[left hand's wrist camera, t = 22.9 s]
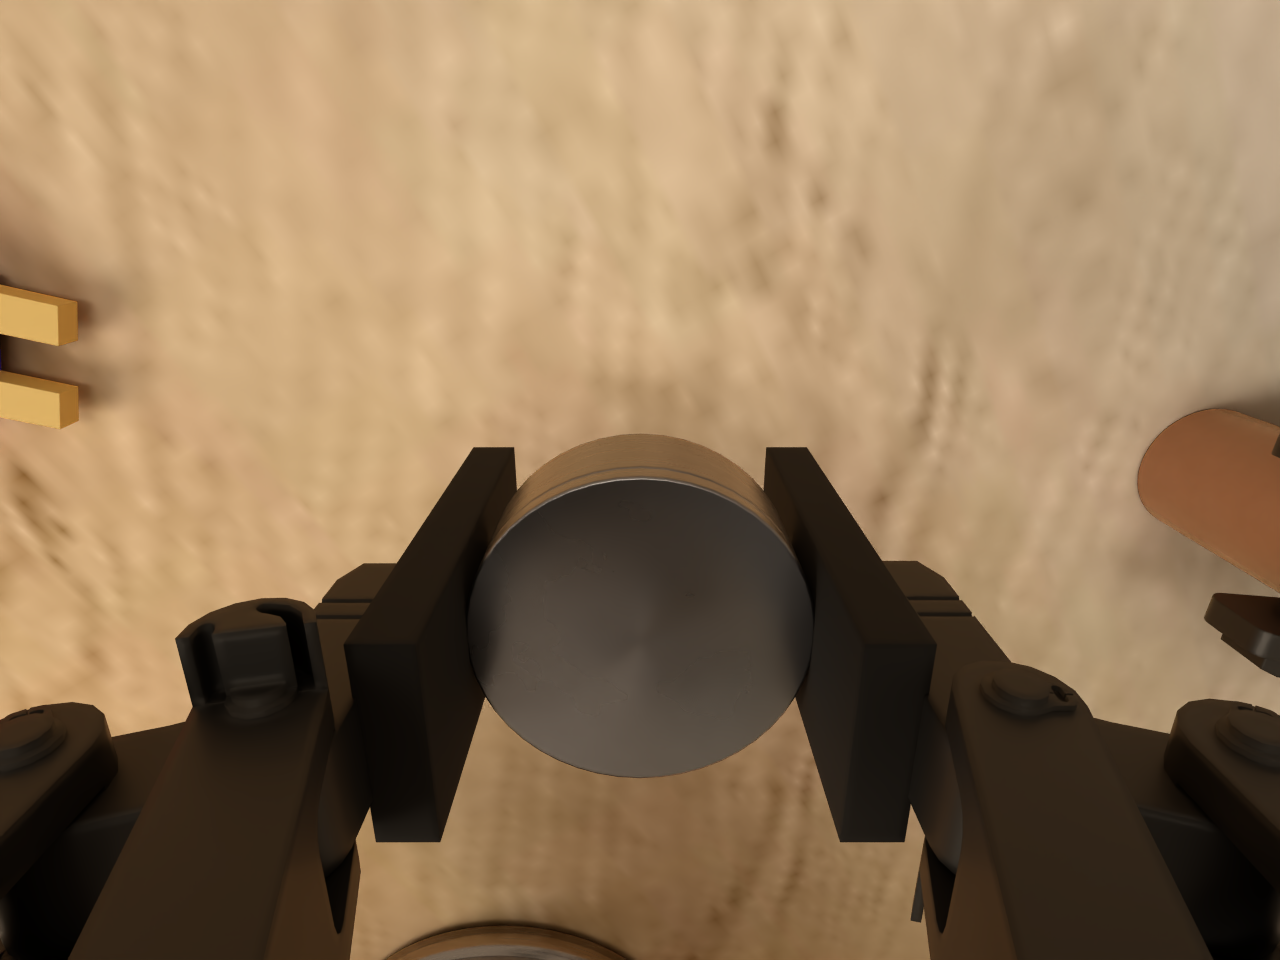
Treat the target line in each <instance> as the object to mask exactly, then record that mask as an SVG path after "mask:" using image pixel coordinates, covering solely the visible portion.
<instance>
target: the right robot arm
mask: <svg viewBox="0 0 1280 960" xmlns="http://www.w3.org/2000/svg"><path fill="white" fill-rule="evenodd" d="M1271 454H1272V455H1274V456H1276V457H1278V458H1280V433H1279V435H1278V438H1277V440H1276V443H1275V445H1274V448H1273V450H1272V453H1271ZM1204 619H1205V621H1206V622H1208V623H1209V624H1210V625H1212V626H1213V627H1214V628H1216V629H1217V630H1218V631H1220V632H1221V633H1222V637H1221V639H1222V640H1223V641H1224V642H1226V643H1227V644H1228V645H1230V646H1231V647H1232V648H1234V649H1235V650H1236V651H1238V652H1239V653H1240V654H1242V655H1243V656H1244V657H1246V658H1247V659H1248V660H1250V661H1251V662H1252V663H1254V664H1255V665H1256V666H1258V667H1259V668H1260V669H1262V670H1264V671H1266V672H1268V673H1270V674H1272V675H1274V676H1276V677H1280V598H1277V597H1265V596H1252V595H1239V594H1227V593H1215V594H1213V597H1212V599H1211V601H1210V604H1209V606H1208V609H1207V611H1206V614H1205V616H1204Z"/></svg>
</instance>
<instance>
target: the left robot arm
mask: <svg viewBox="0 0 1280 960" xmlns="http://www.w3.org/2000/svg"><path fill="white" fill-rule="evenodd" d="M516 491H517V485H516V469H515V454H514V447H474V448H473V449H472V451H471V452H470V454H469V455H468V457H467V458H466V460H465V461H464V463H463V464H462V466H461V467H460V469H459V470H458V472H457V473H456V475H455V476H454V478H453V479H452V481H451V482H450V484H449V485H448V487H447V488H446V490H445V491H444V493H443V494H442V496H441V498H440V499H439V501H438V502H437V504H436V505H435V507H434V508H433V510H432V511H431V513H430V514H429V516H428V517H427V519H426V520H425V522H424V523H423V525H422V526H421V528H420V529H419V531H418V532H417V534H416V535H415V537H414V538H413V540H412V541H411V543H410V544H409V546H408V547H407V549H406V550H405V552H404V553H403V555H402V556H401V558H400V559H399V561H398V562H397V563H364V564H362V565H361V566H359V567H357V568H356V569H354V570H352V571H351V572H349V573H348V574H346V575H344V576H343V577H341V578H340V579H338V580H337V581H336V582H335V583H334V585H333V586H332V587H331V588H330V590H329V591H328V592H327V594H326V595H325V596H324V597H323V599H322V603H319V604H318V605H317V606H316V607H315V609H313V608H311V607H310V606H309V605H307V604H306V603H305V602H302V601H297V600H293V599H288V598H261V599H256V600H251V601H246V602H240V603H235V604H232V605H230V606H227V607H224V608H221V609H219V610H216V611H213V612H210V613H208V614H207V615H205V616H203V617H201V618H200V619H198V620H196V621H194V622H193V623H191V624H189V625H188V626H187V627H186V628H185V629H184V630H183V631H182V632H181V633H180V634H179V635H178V636H177V637H176V638H175V640H176V644H177V648H178V652H179V656H180V659H181V663H182V667H183V671H184V675H185V679H186V683H187V686H188V690H189V694H190V698H191V702H192V706H193V707H192V709H191V712H190V714H189V716H188V718H187V720H186V722H182V723H178V724H174V725H170V726H165V727H160V728H155V729H150V730H145V731H140V732H135V733H130V734H125V735H120V736H115V737H111V734H110V731H109V728H108V725H107V721H106V718H105V715H104V714H103V713H102V712H101V711H100V710H98V709H97V708H96V707H95V706H93V705H88V704H82V703H75V702H69V703H60V704H51V705H42V706H37V707H32V708H30V709H29V710H26V709H25V710H22V711H19V712H15V713H12V714H10V715H8V716H6V717H5V718H3V719H1V720H0V960H350V952H351V944H352V937H353V929H354V921H355V913H356V905H357V897H358V889H359V881H360V873H361V870H360V863H359V856H358V850H357V844H356V837H357V835H358V832H359V830H360V828H361V826H362V823H363V821H364V819H365V817H366V814H367V812H368V810H369V808H370V809H371V815H372V821H373V827H374V833H375V839H376V842H440V841H441V838H442V835H443V832H444V828H445V825H446V822H447V819H448V816H449V812H450V809H451V806H452V803H453V799H454V796H455V793H456V790H457V786H458V783H459V780H460V777H461V773H462V770H463V767H464V764H465V760H466V757H467V754H468V751H469V748H470V744H471V741H472V738H473V735H474V731H475V728H476V725H477V722H478V718H479V715H480V712H481V709H482V705H483V702H484V699H485V695H484V694H483V692H482V689H481V687H480V685H479V683H478V681H477V679H476V677H475V674H474V671H473V668H472V665H471V662H470V659H469V649H468V639H467V628H466V611H467V604H468V597H469V594H470V591H471V587H472V584H473V581H474V578H475V575H476V573H477V571H478V569H479V566H480V564H481V562H482V559H483V557H484V555H485V552H486V550H487V548H488V546H489V543H490V541H491V539H492V536H493V534H494V532H495V529H496V527H497V525H498V523H499V521H500V518H501V516H502V514H503V512H504V510H505V508H506V506H507V505H508V503H509V502H510V500H511V499H512V497H513V496H514V494H515V493H516ZM764 492H765V493H766V495H767V496H768V498H769V499H770V501H771V502H772V504H773V506H774V507H775V509H776V511H777V513H778V515H779V517H780V519H781V522H782V524H783V526H784V528H785V531H786V533H787V535H788V538H789V540H790V542H791V544H792V547H793V549H794V551H795V554H796V556H797V558H798V561H799V563H800V565H801V567H802V570H803V572H804V574H805V577H806V579H807V582H808V585H809V589H810V592H811V596H812V599H813V606H814V614H815V623H814V634H813V645H812V654H811V661H810V664H809V667H808V670H807V673H806V676H805V679H804V681H803V683H802V685H801V687H800V689H799V691H798V693H797V695H796V696H795V698H796V701H797V704H798V707H799V710H800V714H801V717H802V720H803V723H804V727H805V730H806V733H807V736H808V740H809V743H810V746H811V749H812V753H813V756H814V759H815V762H816V765H817V769H818V772H819V775H820V778H821V782H822V785H823V788H824V791H825V795H826V798H827V801H828V804H829V808H830V811H831V814H832V817H833V820H834V824H835V827H836V830H837V833H838V837H839V840H840V842H905V836H906V830H907V824H908V818H909V812H910V806H911V805H912V807H913V809H914V812H915V814H916V816H917V818H918V821H919V823H920V825H921V827H922V830H923V832H924V834H925V839H924V844H923V850H922V855H921V861H920V867H919V872H918V878H917V884H916V889H915V895H914V900H913V907H912V914H911V921H916V922H921V919H922V914H923V908H924V911H925V919H926V927H927V935H928V943H929V951H930V959H931V960H1280V715H1277V714H1276V713H1275V712H1273V711H1271V710H1268V709H1265V708H1262V707H1259V706H1255V707H1254V706H1252V704H1247V703H1242V702H1237V701H1226V700H1216V699H1204V700H1197V701H1191V702H1188V703H1187V704H1185V705H1184V706H1183V707H1181V708H1180V709H1179V710H1178V711H1177V714H1176V717H1175V720H1174V723H1173V727H1172V730H1171V733H1170V734H1168V733H1163V732H1158V731H1153V730H1147V729H1142V728H1137V727H1132V726H1127V725H1122V724H1117V723H1112V722H1108V721H1104V720H1100V719H1096V718H1093V716H1092V714H1091V712H1090V710H1089V708H1088V706H1087V705H1086V704H1085V702H1084V701H1083V700H1082V699H1081V697H1080V696H1079V695H1078V694H1077V693H1076V691H1075V690H1073V689H1072V688H1070V687H1069V686H1067V685H1066V684H1064V683H1063V682H1062V681H1060V680H1059V679H1057V678H1056V677H1054V676H1051V675H1049V674H1047V673H1044V672H1042V671H1039V670H1037V669H1035V668H1032V667H1029V666H1025V665H1020V664H1016V663H1011V661H1010V660H1009V659H1008V658H1007V656H1006V655H1005V654H1004V653H1003V651H1002V650H1001V649H1000V648H999V646H998V645H997V644H996V643H995V641H994V640H993V639H992V637H991V636H990V635H989V634H988V632H987V631H986V630H985V629H984V627H983V626H982V625H981V624H980V622H979V621H978V620H977V619H976V617H972V615H971V614H972V612H971V611H970V610H969V609H968V607H967V606H966V605H965V604H964V602H963V601H962V600H959V596H958V595H957V593H956V592H955V591H954V590H953V588H952V587H951V586H950V585H949V583H948V582H947V581H946V580H945V578H944V577H942V576H941V575H939V574H937V573H936V572H934V571H932V570H931V569H929V568H928V567H926V566H924V565H923V564H921V563H919V562H918V561H882V560H881V559H880V557H879V556H878V554H877V553H876V551H875V550H874V548H873V547H872V545H871V544H870V542H869V541H868V539H867V538H866V536H865V535H864V533H863V531H862V530H861V528H860V527H859V525H858V524H857V522H856V521H855V519H854V518H853V516H852V515H851V513H850V512H849V510H848V509H847V507H846V506H845V504H844V503H843V501H842V500H841V498H840V497H839V495H838V494H837V492H836V491H835V489H834V488H833V486H832V485H831V483H830V482H829V480H828V479H827V477H826V476H825V474H824V473H823V471H822V470H821V468H820V467H819V465H818V464H817V462H816V461H815V459H814V458H813V456H812V454H811V453H810V451H809V450H808V448H807V447H766V461H765V477H764ZM386 960H626V959H625V958H623V957H622V956H620V955H618V954H616V953H615V952H613V951H611V950H609V949H607V948H605V947H603V946H600V945H598V944H596V943H593V942H591V941H588V940H585V939H582V938H579V937H576V936H573V935H569V934H565V933H561V932H558V931H552V930H547V929H541V928H533V927H524V926H484V927H474V928H466V929H461V930H455V931H450V932H447V933H443V934H439V935H435V936H432V937H429V938H427V939H424V940H421V941H418V942H416V943H414V944H412V945H410V946H407V947H405V948H403V949H402V950H400V951H398V952H396V953H395V954H393V955H391V956H390V957H388V958H387V959H386Z"/></svg>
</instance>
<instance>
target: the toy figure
mask: <svg viewBox="0 0 1280 960" xmlns="http://www.w3.org/2000/svg"><path fill="white" fill-rule="evenodd" d="M0 334H4V335H9V336H14V337H18V338H23V339H28V340H32V341H37V342H42V343H46V344H51V345H56V346H60V345H64V344H67V343H70V342H74V341H77V340H78V313H77V302H76V301H72V300H67V299H63V298H58V297H54V296H49V295H45V294H40V293H36V292H31V291H27V290H22V289H18V288H13V287H9V286H4V285H0ZM0 417H1V418H6V419H11V420H16V421H21V422H26V423H31V424H37V425H42V426H47V427H52V428H57V429H61V428H64V427H66V426H68V425H70V424H72V423H75V422H77V421H79V413H78V386H74V385H69V384H64V383H59V382H55V381H50V380H45V379H40V378H35V377H30V376H26V375H21V374H16V373H11V372H6V371H1V351H0Z"/></svg>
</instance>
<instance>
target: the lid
mask: <svg viewBox="0 0 1280 960" xmlns="http://www.w3.org/2000/svg"><path fill="white" fill-rule="evenodd" d="M814 623H815V614H814V606H813V599H812V596H811V592H810V589H809V585H808V582H807V579H806V577H805V574H804V572H803V570H802V567H801V565H800V563H799V561H798V558H797V556H796V554H795V551H794V549H793V547H792V544H791V542H790V540H789V538H788V535H787V533H786V531H785V528H784V526H783V524H782V522H781V519H780V517H779V515H778V513H777V511H776V509H775V507H774V506H773V504H772V502H771V501H770V499H769V498H768V496H767V495H766V493H765V492H764V491H763V490H762V489H761V487H760V486H759V485H758V484H757V483H756V482H755V481H754V479H753V478H751V477H750V476H749V475H748V474H747V473H746V472H745V471H743V470H742V469H741V468H740V467H739V466H738V465H736V464H735V463H733V462H731V461H730V460H728V459H727V458H725V457H724V456H722V455H721V454H719V453H717V452H714V451H712V450H710V449H708V448H706V447H704V446H702V445H699V444H696V443H693V442H690V441H687V440H684V439H679V438H674V437H669V436H664V435H652V434H629V435H617V436H612V437H607V438H601V439H597V440H594V441H591V442H588V443H585V444H582V445H579V446H577V447H575V448H572V449H570V450H568V451H566V452H564V453H562V454H560V455H558V456H557V457H555V458H554V459H552V460H551V461H549V462H547V463H546V464H544V465H543V466H542V467H541V468H540V469H538V470H537V471H536V472H535V473H534V474H532V475H531V476H530V477H529V478H528V479H527V480H526V481H525V482H524V484H523V485H522V486H521V487H520V488H519V489H518V490H517V491H516V493H515V494H514V496H513V497H512V499H511V500H510V502H509V503H508V505H507V506H506V508H505V510H504V512H503V514H502V516H501V518H500V521H499V523H498V525H497V527H496V529H495V532H494V534H493V536H492V539H491V541H490V543H489V546H488V548H487V550H486V552H485V555H484V557H483V559H482V562H481V564H480V566H479V569H478V571H477V573H476V575H475V578H474V581H473V584H472V587H471V591H470V594H469V597H468V604H467V611H466V628H467V639H468V649H469V659H470V662H471V665H472V668H473V671H474V674H475V677H476V679H477V681H478V683H479V685H480V687H481V689H482V692H483V694H484V695H485V697H486V698H487V700H488V701H489V703H490V704H491V706H492V707H493V709H494V710H495V711H496V713H497V714H498V715H499V716H500V717H501V718H502V719H503V721H504V722H505V723H506V724H507V725H508V726H509V727H510V728H511V729H512V730H513V731H515V732H516V733H517V734H518V735H519V736H520V737H521V738H523V739H524V740H525V741H527V742H528V743H530V744H531V745H533V746H534V747H535V748H537V749H538V750H540V751H542V752H544V753H545V754H547V755H549V756H551V757H553V758H555V759H557V760H559V761H561V762H564V763H567V764H569V765H572V766H574V767H577V768H580V769H584V770H587V771H591V772H595V773H599V774H605V775H611V776H617V777H632V778H648V777H663V776H670V775H676V774H682V773H686V772H690V771H693V770H697V769H701V768H704V767H706V766H709V765H712V764H714V763H717V762H719V761H722V760H724V759H726V758H728V757H729V756H731V755H733V754H735V753H737V752H739V751H741V750H742V749H744V748H745V747H747V746H748V745H750V744H751V743H753V742H754V741H756V740H757V739H758V738H759V737H760V736H761V735H763V734H764V733H765V732H766V731H767V730H768V729H770V728H771V727H772V726H773V724H774V723H775V722H776V721H777V720H778V719H779V718H780V717H781V716H782V715H783V713H784V712H785V711H786V709H787V708H788V707H789V705H790V704H791V702H792V701H793V699H794V698H795V696H796V695H797V693H798V691H799V689H800V687H801V685H802V683H803V681H804V679H805V676H806V673H807V670H808V667H809V664H810V661H811V654H812V645H813V634H814Z"/></svg>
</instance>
